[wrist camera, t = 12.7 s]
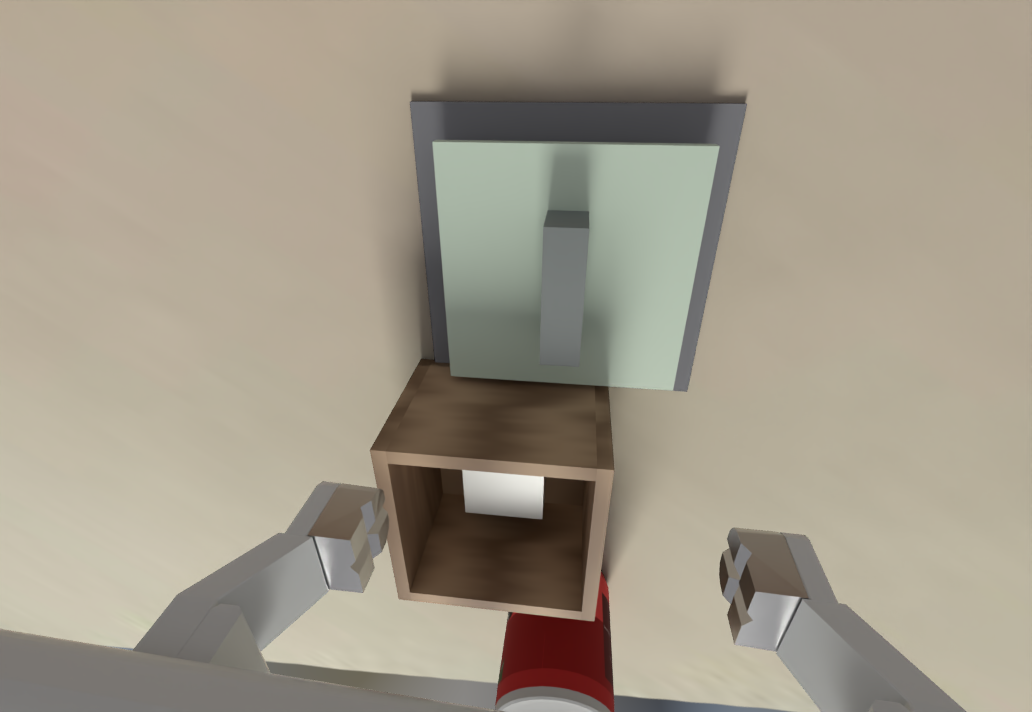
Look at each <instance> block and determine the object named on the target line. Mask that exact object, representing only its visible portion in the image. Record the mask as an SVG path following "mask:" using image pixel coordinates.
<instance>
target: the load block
mask: <svg viewBox="0 0 1032 712" xmlns="http://www.w3.org/2000/svg"><path fill="white" fill-rule="evenodd" d="M462 473H463V486H464V500H465V512H468V513H478V514H489V515H500V516H510V517H521V518H532V519H542V518H543V507H544V496H545V486H546V477H540V476H528V475H516V474H504V473H492V472H481V471H469V470H462Z"/></svg>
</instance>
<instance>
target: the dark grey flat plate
mask: <svg viewBox="0 0 1032 712" xmlns="http://www.w3.org/2000/svg"><path fill="white" fill-rule="evenodd" d="M746 106H747V104H745V103H590V102H432V101H411V102H410V108H411V119H412V129H413V139H414V150H415V160H416V170H417V181H418V191H419V202H420V212H421V222H422V233H423V243H424V253H425V264H426V274H427V284H428V295H429V305H430V315H431V326H432V336H433V347H434V357H435V362H439V363H450V359H449V346H448V334H447V321H446V308H445V296H444V283H443V270H442V258H441V245H440V232H439V220H438V207H437V194H436V182H435V169H434V156H433V144H432V142H433V141H435V140H491V141H559V142H627V143H694V144H717V145H719V146H720V147H719V153H718V158H717V163H716V168H715V173H714V179H713V184H712V189H711V194H710V200H709V205H708V210H707V215H706V221H705V226H704V231H703V236H702V242H701V247H700V252H699V257H698V262H697V268H696V273H695V278H694V283H693V289H692V294H691V299H690V304H689V310H688V315H687V320H686V325H685V330H684V336H683V341H682V346H681V351H680V357H679V362H678V367H677V372H676V378H675V383H674V388H673V391H685V392H687V390H688V385H689V380H690V375H691V370H692V366H693V361H694V356H695V351H696V346H697V341H698V337H699V332H700V327H701V322H702V317H703V313H704V308H705V303H706V298H707V293H708V289H709V284H710V279H711V274H712V269H713V265H714V260H715V255H716V250H717V245H718V241H719V236H720V231H721V226H722V221H723V217H724V212H725V207H726V202H727V197H728V193H729V188H730V183H731V178H732V173H733V169H734V164H735V159H736V154H737V149H738V145H739V140H740V135H741V130H742V125H743V121H744V116H745V111H746ZM608 387H610V386H608ZM623 388H626V387H623ZM639 389H641V388H639ZM654 390H656V389H654ZM669 391H671V390H669Z"/></svg>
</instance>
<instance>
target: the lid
mask: <svg viewBox="0 0 1032 712" xmlns="http://www.w3.org/2000/svg"><path fill="white" fill-rule="evenodd" d="M432 144H433V156H434V169H435V182H436V194H437V207H438V220H439V232H440V245H441V258H442V270H443V283H444V296H445V308H446V321H447V334H448V346H449V359H450V372H451V376H457V377H472V378H488V379H503V380H518V381H534V382H549V383H564V384H580V385H595V386H610V387H626V388H641V389H656V390H671V391H673V388H674V383H675V378H676V372H677V367H678V362H679V357H680V351H681V346H682V341H683V336H684V330H685V325H686V320H687V315H688V310H689V304H690V299H691V294H692V289H693V283H694V278H695V273H696V268H697V262H698V257H699V252H700V247H701V242H702V236H703V231H704V226H705V221H706V215H707V210H708V205H709V200H710V194H711V189H712V184H713V179H714V173H715V168H716V163H717V158H718V153H719V147H720V146H719V145H717V144H694V143H627V142H559V141H491V140H435V141H433V142H432Z"/></svg>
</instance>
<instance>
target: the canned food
mask: <svg viewBox="0 0 1032 712" xmlns="http://www.w3.org/2000/svg"><path fill="white" fill-rule="evenodd" d="M495 710H498V711H504V712H614V691H613V671H612V651H611V631H610V611H609V592H608V586H607V583H606V580H605V578H604V575H603V573H602V572H601V575H600V582H599V590H598V598H597V605H596V613H595V620H594V621H586V620H577V619H568V618H559V617H551V616H542V615H533V614H524V613H516V612H508V619H507V626H506V633H505V640H504V647H503V654H502V660H501V667H500V674H499V681H498V688H497V697H496V704H495Z"/></svg>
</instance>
